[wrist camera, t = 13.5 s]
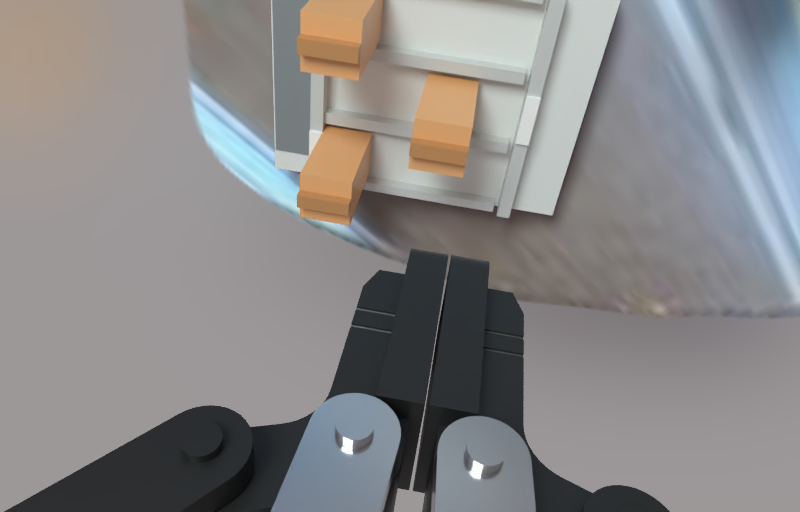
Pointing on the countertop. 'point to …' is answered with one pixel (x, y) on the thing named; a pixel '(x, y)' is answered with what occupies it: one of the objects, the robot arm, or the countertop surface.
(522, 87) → the switch bank
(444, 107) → the tab
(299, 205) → the tab
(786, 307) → the countertop surface
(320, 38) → the tab
